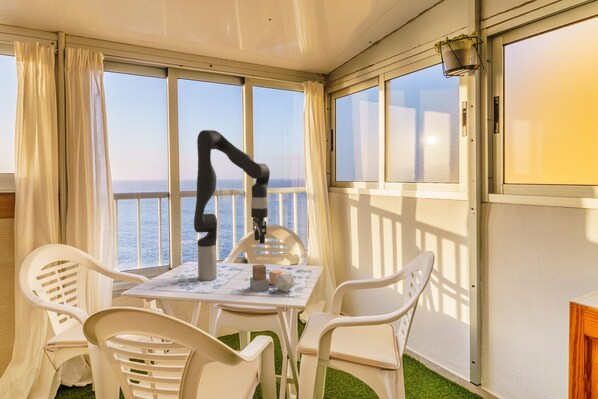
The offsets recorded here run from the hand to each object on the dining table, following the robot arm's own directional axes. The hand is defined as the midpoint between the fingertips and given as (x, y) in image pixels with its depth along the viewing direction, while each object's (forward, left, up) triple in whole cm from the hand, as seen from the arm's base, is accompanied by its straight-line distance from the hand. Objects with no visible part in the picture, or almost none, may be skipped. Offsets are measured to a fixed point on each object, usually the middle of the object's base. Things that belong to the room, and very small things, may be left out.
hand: (259, 241), depth 171 cm
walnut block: (0, 0, -17) cm, 17 cm away
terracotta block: (-5, +10, -22) cm, 25 cm away
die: (+7, +10, -22) cm, 25 cm away
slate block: (0, 0, -22) cm, 22 cm away
